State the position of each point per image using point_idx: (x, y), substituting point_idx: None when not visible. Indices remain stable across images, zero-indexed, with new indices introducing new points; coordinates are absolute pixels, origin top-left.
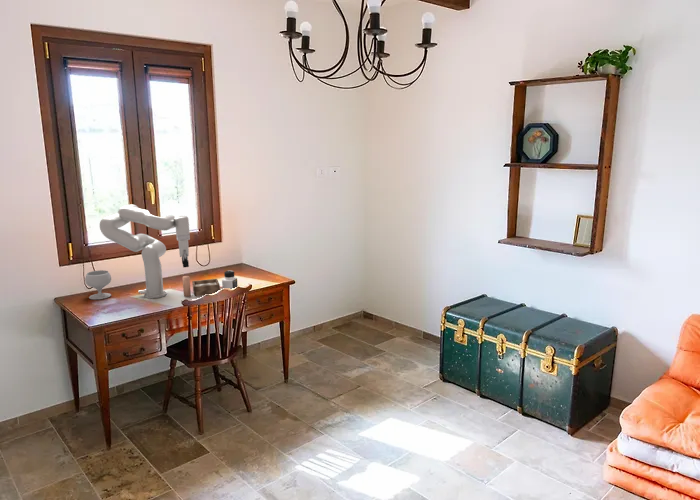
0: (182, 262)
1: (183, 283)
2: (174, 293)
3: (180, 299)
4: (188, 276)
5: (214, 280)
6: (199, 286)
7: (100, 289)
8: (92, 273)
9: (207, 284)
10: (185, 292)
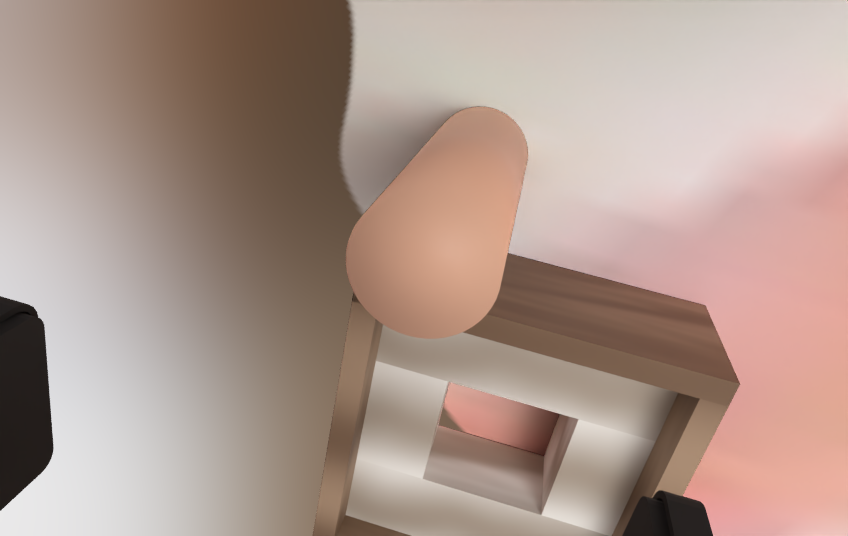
0: (647, 533)
1: (427, 158)
2: (749, 22)
3: (369, 20)
4: (419, 320)
5: None
6: (346, 349)
7: None
8: None
9: (554, 489)
10: (432, 136)
